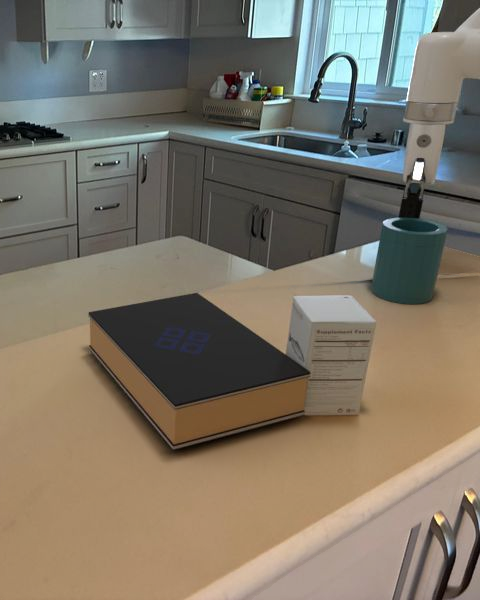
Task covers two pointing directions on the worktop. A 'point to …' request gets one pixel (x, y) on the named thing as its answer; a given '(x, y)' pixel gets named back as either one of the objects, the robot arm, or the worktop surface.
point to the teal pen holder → (408, 260)
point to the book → (196, 369)
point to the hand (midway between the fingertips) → (409, 215)
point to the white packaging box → (331, 351)
